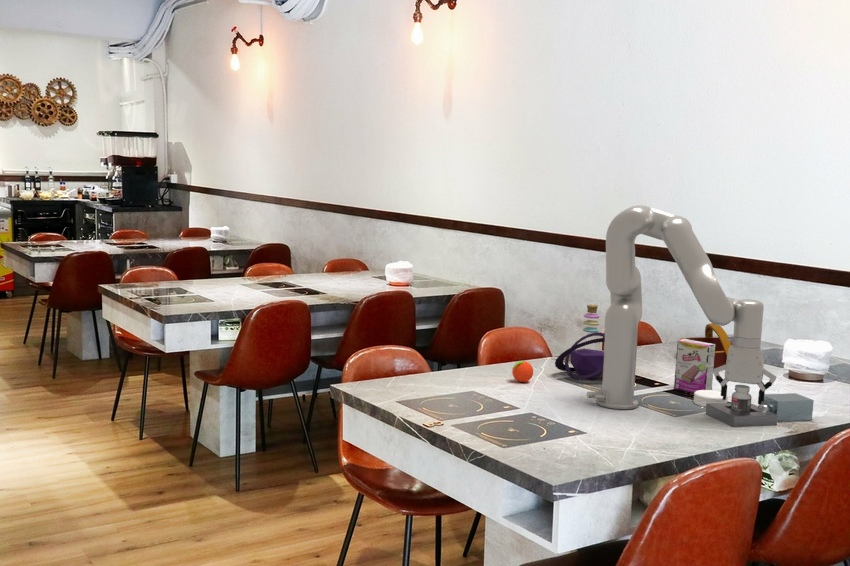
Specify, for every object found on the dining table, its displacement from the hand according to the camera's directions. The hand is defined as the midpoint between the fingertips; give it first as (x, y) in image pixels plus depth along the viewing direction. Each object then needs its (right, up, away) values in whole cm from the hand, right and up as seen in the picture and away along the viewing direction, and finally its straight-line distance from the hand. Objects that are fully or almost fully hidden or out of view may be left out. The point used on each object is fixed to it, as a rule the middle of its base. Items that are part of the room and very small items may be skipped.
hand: (741, 401), depth 256 cm
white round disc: (-4, -4, +17) cm, 18 cm away
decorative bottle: (-35, +2, +48) cm, 60 cm away
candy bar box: (-4, -1, +32) cm, 33 cm away
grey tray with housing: (+7, -5, +2) cm, 9 cm away
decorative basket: (+20, +4, +83) cm, 86 cm away
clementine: (-60, +1, +37) cm, 70 cm away
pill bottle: (0, -6, +1) cm, 6 cm away
